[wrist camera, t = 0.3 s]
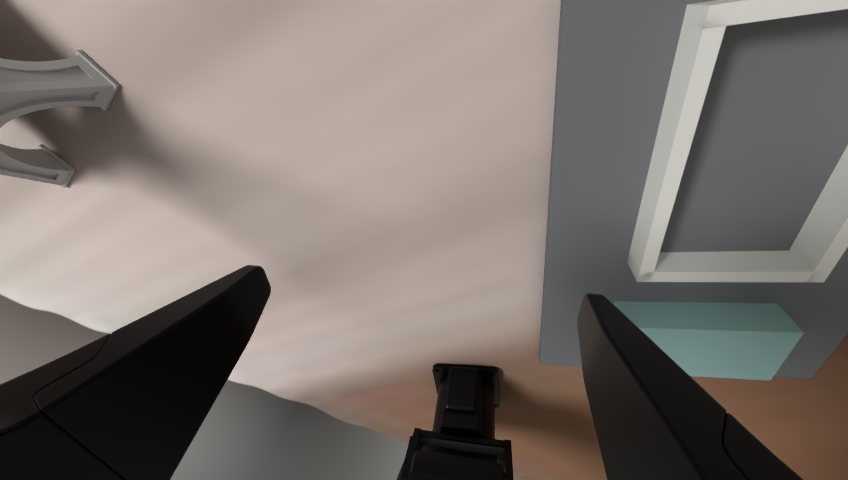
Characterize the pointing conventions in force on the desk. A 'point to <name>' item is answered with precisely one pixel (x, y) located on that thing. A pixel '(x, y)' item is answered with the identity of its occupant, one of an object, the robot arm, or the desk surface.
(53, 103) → the eiffel tower
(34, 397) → the robot arm
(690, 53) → the tray frame
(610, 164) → the mat
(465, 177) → the desk surface
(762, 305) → the tile
